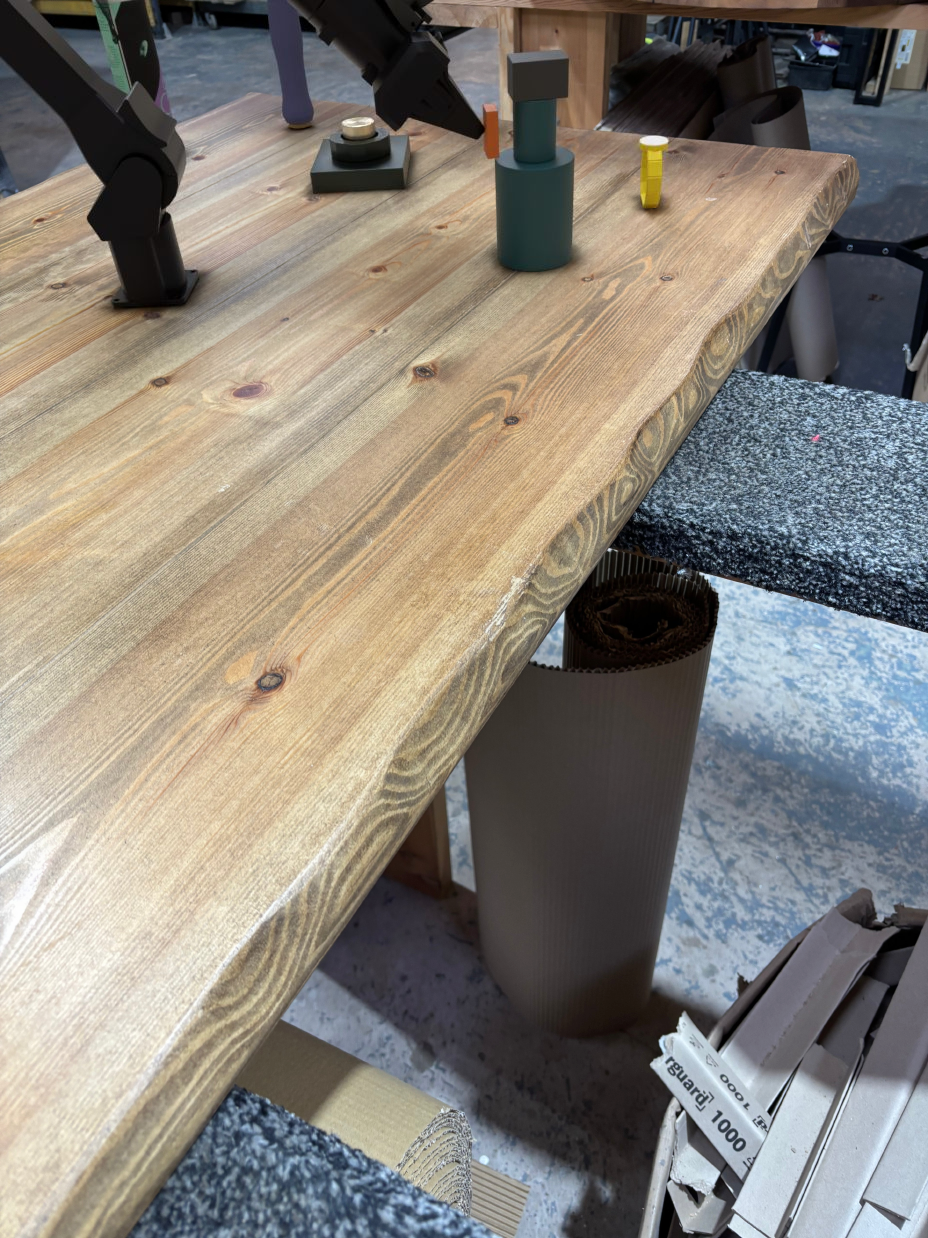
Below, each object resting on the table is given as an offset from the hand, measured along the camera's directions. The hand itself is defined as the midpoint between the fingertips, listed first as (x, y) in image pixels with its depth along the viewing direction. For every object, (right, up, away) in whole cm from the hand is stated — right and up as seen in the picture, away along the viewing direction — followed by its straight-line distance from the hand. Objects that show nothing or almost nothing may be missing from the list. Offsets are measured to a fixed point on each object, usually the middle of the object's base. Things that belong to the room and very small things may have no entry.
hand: (481, 133), depth 78 cm
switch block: (-13, +10, +27) cm, 32 cm away
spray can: (-39, +16, +36) cm, 55 cm away
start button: (-13, +12, +25) cm, 31 cm away
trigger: (+1, -1, +1) cm, 2 cm away
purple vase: (-23, +23, +42) cm, 53 cm away
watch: (+17, +1, +16) cm, 23 cm away
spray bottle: (+5, -7, +7) cm, 12 cm away
